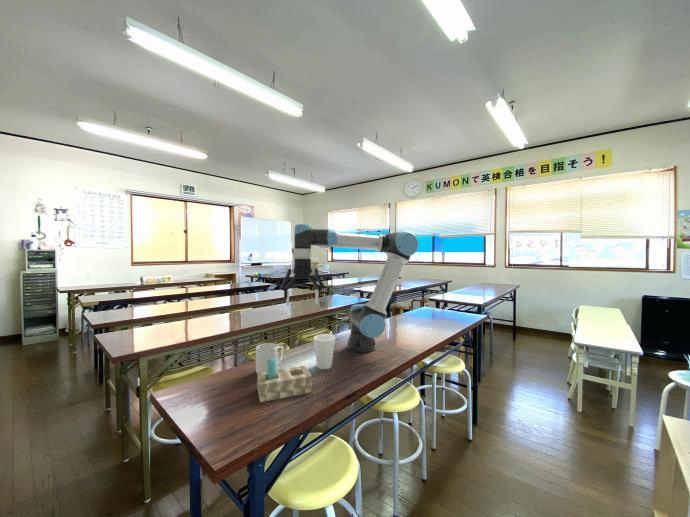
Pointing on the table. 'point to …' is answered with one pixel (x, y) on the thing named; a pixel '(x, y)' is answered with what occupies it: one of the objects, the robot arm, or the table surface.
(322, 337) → the foam cup
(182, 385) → the table surface
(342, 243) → the robot arm
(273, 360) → the peg
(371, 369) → the table surface
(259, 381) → the hole block
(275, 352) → the mug
